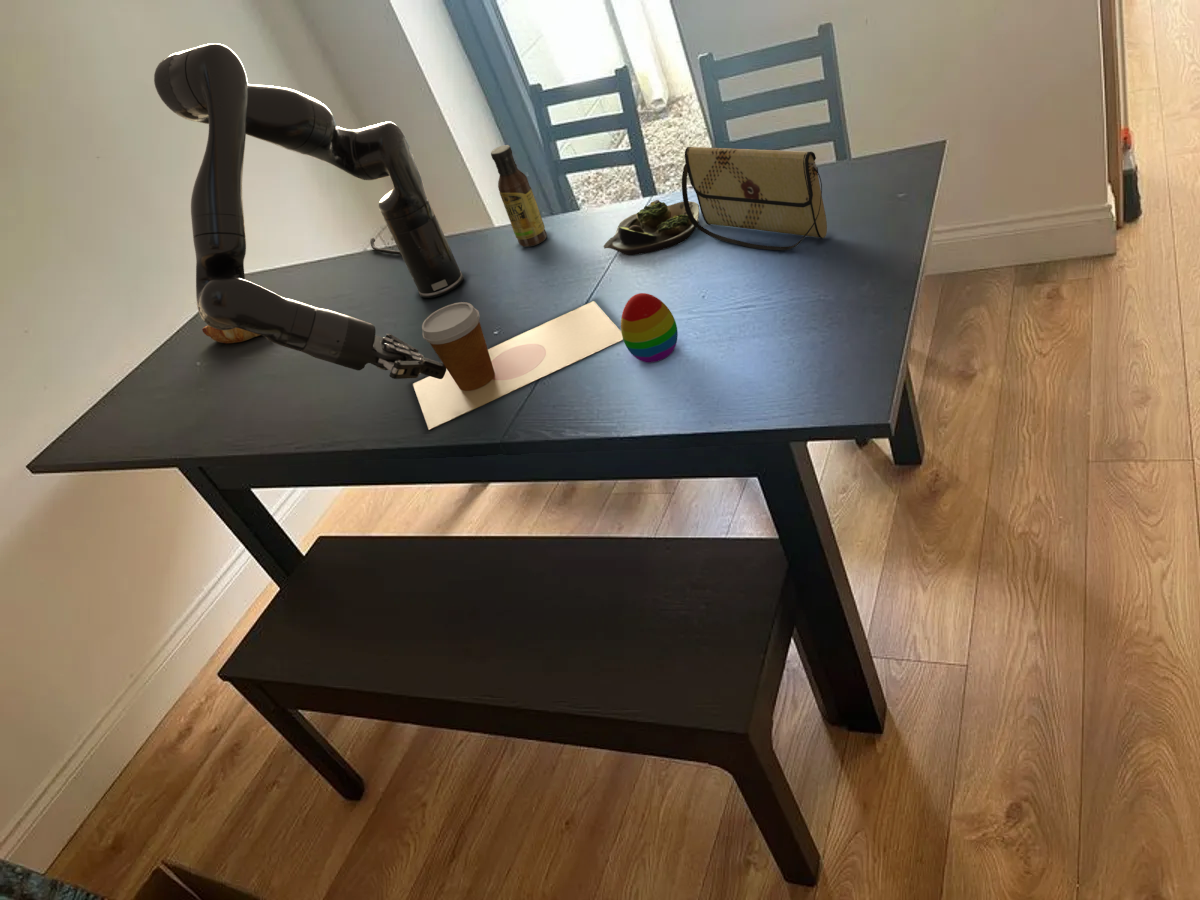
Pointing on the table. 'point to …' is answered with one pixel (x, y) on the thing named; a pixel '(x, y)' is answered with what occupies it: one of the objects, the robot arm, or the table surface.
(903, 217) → the table surface
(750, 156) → the clutch purse
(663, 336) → the decorative egg
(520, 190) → the sauce bottle
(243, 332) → the croissant
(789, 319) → the table surface
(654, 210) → the salad plate
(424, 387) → the placemat
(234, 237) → the robot arm
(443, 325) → the disposable coffee cup
